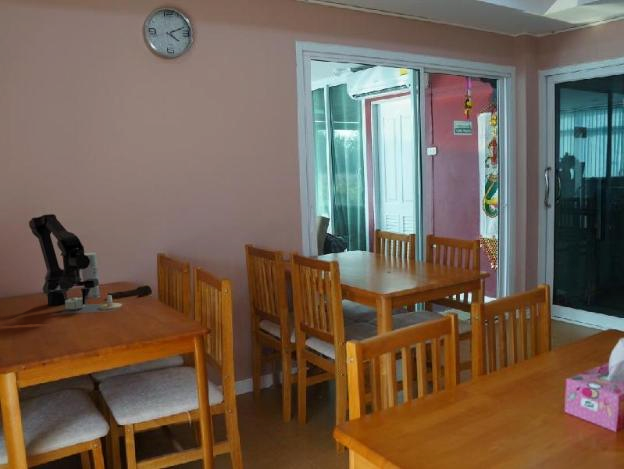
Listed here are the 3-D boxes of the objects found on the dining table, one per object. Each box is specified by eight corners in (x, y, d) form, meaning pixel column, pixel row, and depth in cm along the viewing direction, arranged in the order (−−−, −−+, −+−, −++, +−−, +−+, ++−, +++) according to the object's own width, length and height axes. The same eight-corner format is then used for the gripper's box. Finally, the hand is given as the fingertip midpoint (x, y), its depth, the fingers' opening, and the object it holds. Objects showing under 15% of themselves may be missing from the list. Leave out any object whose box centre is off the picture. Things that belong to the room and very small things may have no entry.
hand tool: (109, 302, 244) (108, 292, 244) (107, 301, 248) (106, 290, 247) (153, 295, 254) (152, 285, 253) (151, 294, 257) (150, 284, 257)
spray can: (96, 299, 251) (92, 254, 248) (82, 300, 251) (77, 255, 248) (102, 296, 257) (98, 252, 255) (87, 296, 257) (83, 253, 255)
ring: (63, 309, 226) (62, 302, 226) (70, 305, 233) (69, 298, 233) (80, 308, 227) (79, 301, 226) (86, 304, 233) (86, 297, 233)
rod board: (58, 316, 223) (57, 301, 222) (72, 307, 237) (71, 293, 236) (116, 313, 223) (114, 298, 223) (126, 304, 237) (125, 290, 237)
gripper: (38, 272, 220) (43, 311, 222) (87, 269, 220) (91, 308, 222) (51, 266, 231) (55, 304, 233) (97, 264, 231) (100, 302, 233)
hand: (75, 305), depth 230 cm, fingers closed on ring, 7 cm apart
